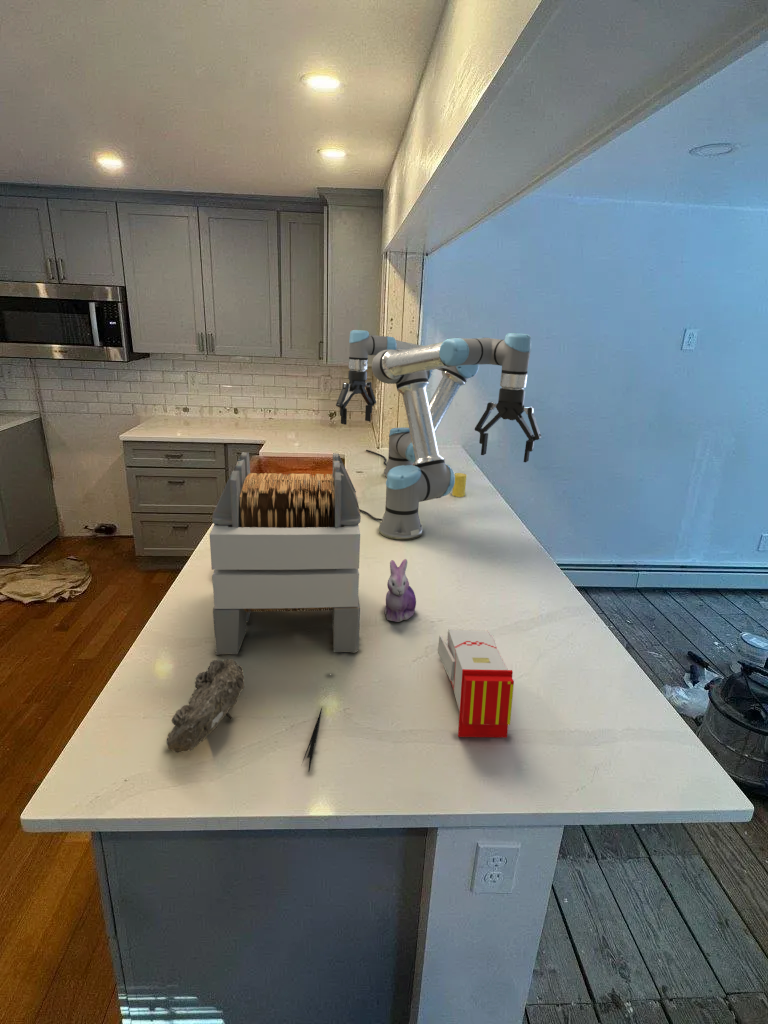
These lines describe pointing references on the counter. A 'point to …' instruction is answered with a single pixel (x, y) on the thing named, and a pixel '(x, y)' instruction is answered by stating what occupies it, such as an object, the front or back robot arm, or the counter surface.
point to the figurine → (399, 594)
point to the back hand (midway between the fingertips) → (355, 422)
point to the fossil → (206, 705)
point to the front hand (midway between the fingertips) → (504, 457)
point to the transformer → (285, 551)
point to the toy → (478, 682)
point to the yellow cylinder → (459, 485)
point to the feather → (313, 740)
